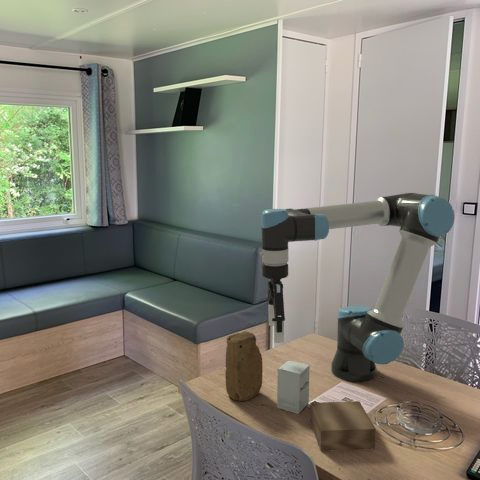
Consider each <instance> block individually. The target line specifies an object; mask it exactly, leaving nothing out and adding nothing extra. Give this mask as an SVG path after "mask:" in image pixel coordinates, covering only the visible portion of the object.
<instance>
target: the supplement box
mask: <svg viewBox="0 0 480 480" xmlns="http://www.w3.org/2000/svg"><path fill="white" fill-rule="evenodd" d="M310 366H311V365H310V364H307V363H303V362H302V363H301V362H299V361H293V360H287V361H286V362H285V363H283V364H282V365H280V367H278V368H277V386H276V387H277V391H276V393H277V396H276V398H277V401H276V402H277V404H276V405H277V406H276V408H278V409H280V410H284V411H287V412H289V413H294V414H297V415H299V414H301V412H302V411H303V409H305V408H306V406H308V404H310V403H309V402H310V401H309V400H310V398H309V397H310Z"/></svg>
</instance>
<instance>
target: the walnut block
mask: <svg viewBox="0 0 480 480" xmlns="http://www.w3.org/2000/svg"><path fill="white" fill-rule="evenodd" d="M309 406H310V407H309V423H310V425H311V428H312V432H313V434H314V437H315V439H316V440H315V441H316V442H317V445H318V447H319V451H320V452H332V451H331V450H338V451H356V450H357V451H358V450H363V451H364V450H375V449H376V430H377V428H376V426H375V425H374V424H373V422H372V420H371V419H370V417H369V415H368V413H367V412H366V410H365V409H364V407H363V405H362V403H361V401H359V400H357V401H354V400H353V401H330V402H327V401H326V402H325V401H324V402H321V401H319V402H310V403H309Z"/></svg>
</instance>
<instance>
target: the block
mask: <svg viewBox="0 0 480 480" xmlns="http://www.w3.org/2000/svg"><path fill="white" fill-rule="evenodd" d="M226 344H227V345H226V349H225V372H224V373H225V375H224V376H225V388H226V393H227V394H228V396H229V397H230V398H231V399H232V400H233V401H238V402H239V401H240V402H241V401H243V402H244V401H248V400H251V399H252V398H254V397H256V396H257V395H259V392H260V390H261V388H262V387H263V371H264V370H263V366H264V365H263V355H262V353H261V351H260V348H259V346H258V345H257V337H256V335H255V334H254V333H253V332H250V331H249V332H248V331H242V332H236V333H233V334H231V335H228V336H227V337H226Z"/></svg>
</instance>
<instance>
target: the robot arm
mask: <svg viewBox="0 0 480 480" xmlns="http://www.w3.org/2000/svg"><path fill="white" fill-rule="evenodd" d="M454 224H455V211H454V209H453V206H452V204H451V203H450V202H449V201H448V199H446V198H444V197H442V196H438V195H434V194H422V193H416V192H405V193H400V194H393V195H387V196H380V197H379V196H378V197H377V198H376V199H375V200H371V201H370V200H369V201H362V202H351V203H343V204H333V205H332V204H331V205H326V206H325V205H324V206H314V207H307V208H297V209H294V208H270V209H269V208H267V209H265V210H263V211H262V213H261V224H260V228H261V229H260V230H261V251H260V252H259V256H261V259H262V260H261V261H262V265H261V271H262V272H261V273H262V274H261V275H262V277H263V278H265V279H268V281H267V300H268V301H267V303H268V326H273V342H274V344H275V343H276V344H278V343H285V331H284V330H285V322H284V321H286V316H285V303H284V284H283V283H282V281H281V280H282V279H285V278H288V277H289V264H288V262H289V243H291V242H306V241H307V242H309V241H318V240H319V241H320V240H324V239H326V238H327V237H328V235H329V233H330V230H334V229H343V228H350V227H351V228H353V227H359V226H362V227H363V226H369V225H370V226H371V225H379V226H381V227H386V226H387V227H389V226H392V227H399V233H400V236H401V238H400V239H401V240H400V242H399V244H398V247H397V248H396V249H397V250H396V252H395V254H394V257H393V260H392V262H391V265H390V267H389V270H388V272H387V275H386V277H385V280H384V282H383V285H382V287H381V290H380V292H379V295H378V298H377V300H376V303H375V305H374V307H373V308H372V307H370V306H365V305H364V306H363V305H349V306H343V307H341V308H339V310H338V314H337V341H336V342H337V343H336V346H337V347H336V351H335V354H334V356H333V358H332V361H331V366H330V367H331V369H330V370H331V373H332V374H333V375H334V376H336V377H337V378H340V379H342V380H346V381H350V382H366V381H370V380H373V379H374V378H375V377H376V376H377V366H376V365H388V364H390V363H391V362H394V361H396V360H397V359H398V358H399V357H400V356H401V354H402V353H403V350H404V345H405V342H404V339H403V336H402V331H403V328H404V324H403V322H402V317H403V315H404V312H405V309H406V307H407V304H408V303H409V301H410V300H409V299H410V297H411V295H412V293H413V290H414V287H415V285H416V283H417V280H418V277H419V275H420V272H421V270H422V267H423V264H424V263H425V260H426V257H427V255H428V252H429V249H430V248H431V247H432V246H435V245H437V243H438V242H439V239H440V237H442V236H444V235H446V234H448V233H449V232H450V231H451V230H452V228H453V226H454Z"/></svg>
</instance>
